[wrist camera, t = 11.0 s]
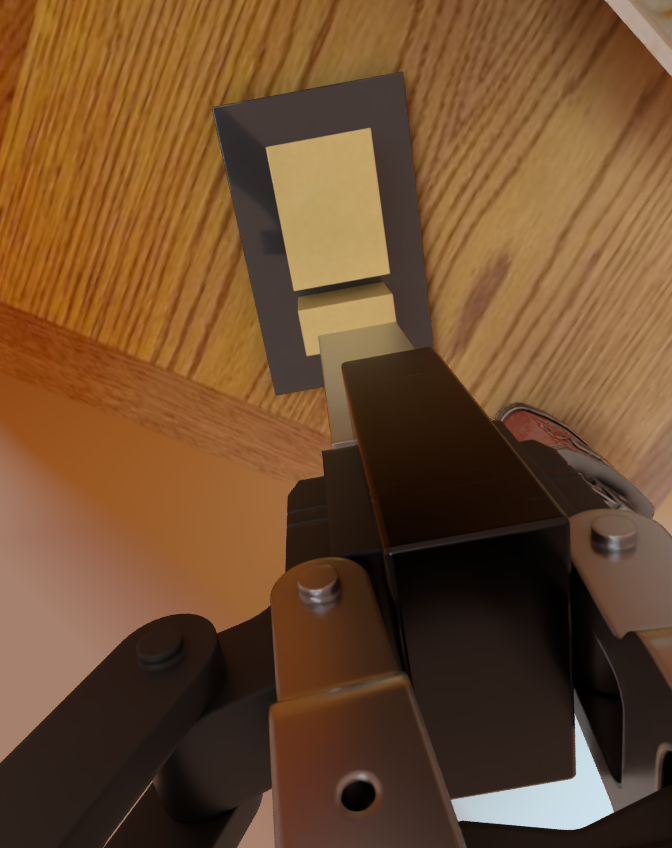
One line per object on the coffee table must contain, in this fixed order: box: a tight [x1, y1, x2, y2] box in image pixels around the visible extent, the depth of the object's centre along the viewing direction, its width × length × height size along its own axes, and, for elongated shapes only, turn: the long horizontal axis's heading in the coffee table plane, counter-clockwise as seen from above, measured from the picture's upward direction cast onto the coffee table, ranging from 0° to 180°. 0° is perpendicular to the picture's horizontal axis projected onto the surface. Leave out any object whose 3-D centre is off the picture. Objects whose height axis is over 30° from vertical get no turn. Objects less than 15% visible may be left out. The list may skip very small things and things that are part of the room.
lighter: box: [496, 403, 654, 519], centre depth 36 cm, size 8×3×10 cm, turn 57°
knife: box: [318, 322, 576, 800], centre depth 15 cm, size 3×4×17 cm
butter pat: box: [298, 282, 396, 356], centre depth 33 cm, size 5×2×4 cm, turn 100°
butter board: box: [212, 72, 434, 395], centre depth 33 cm, size 10×16×5 cm, turn 10°
